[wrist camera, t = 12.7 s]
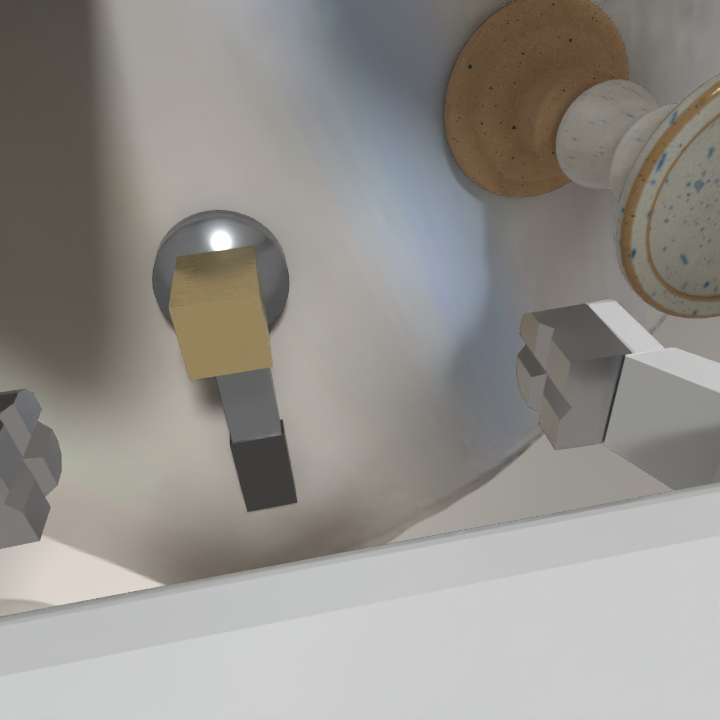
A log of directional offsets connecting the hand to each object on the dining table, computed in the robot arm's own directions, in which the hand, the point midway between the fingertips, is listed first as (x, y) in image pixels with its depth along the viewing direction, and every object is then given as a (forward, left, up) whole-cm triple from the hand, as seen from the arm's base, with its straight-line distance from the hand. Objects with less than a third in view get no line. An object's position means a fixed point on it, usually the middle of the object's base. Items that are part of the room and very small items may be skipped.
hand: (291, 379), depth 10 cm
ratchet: (+4, +21, -31) cm, 38 cm away
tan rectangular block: (+4, +12, -29) cm, 32 cm away
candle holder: (-18, +3, -31) cm, 36 cm away
